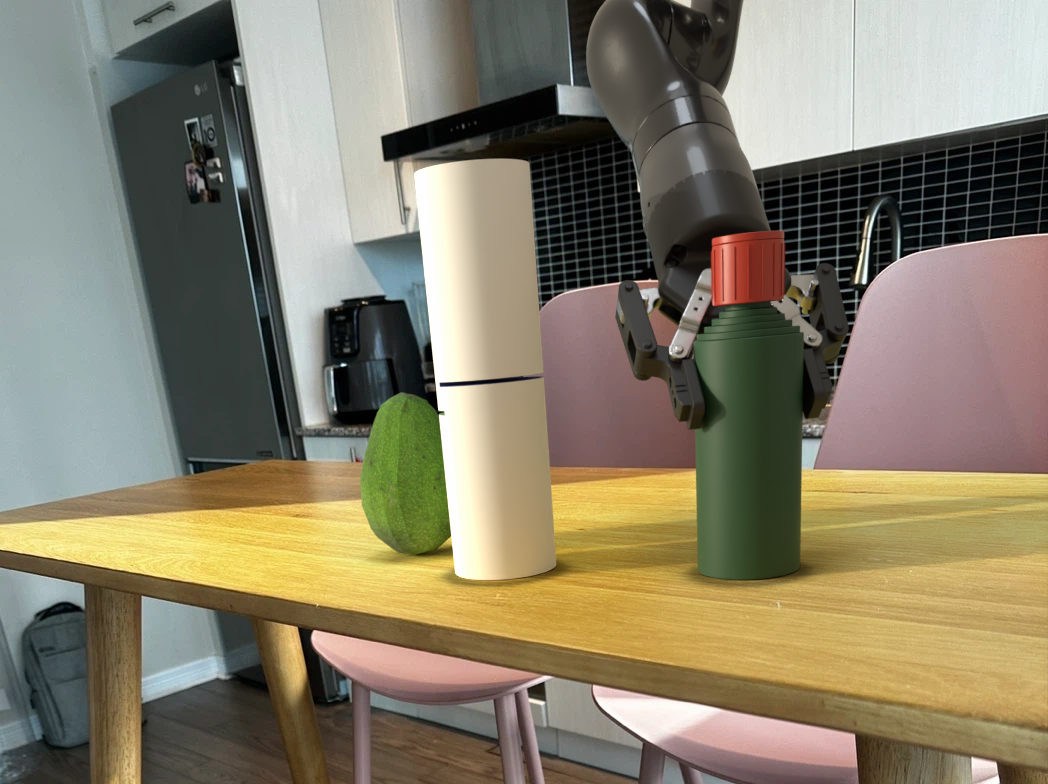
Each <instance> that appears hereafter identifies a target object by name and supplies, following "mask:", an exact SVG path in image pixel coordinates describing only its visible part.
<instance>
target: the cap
mask: <svg viewBox="0 0 1048 784" xmlns="http://www.w3.org/2000/svg"><path fill="white" fill-rule="evenodd" d="M785 268H786V243H785V231H784V230H771V231H761V232H750V233H741V234H734V235H727V236H721V237H716V238H713V239H712V251H711V294H712V302H713V306H725V305H733V304H744V303H755V302H766V301H780V300H783V299H784V295H785Z"/></svg>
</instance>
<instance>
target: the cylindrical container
mask: <svg viewBox="0 0 1048 784" xmlns="http://www.w3.org/2000/svg"><path fill="white" fill-rule="evenodd" d="M530 167H531V166H530V162H529V161H527V160H523V159H519V158H518V159H517V158H481V159H468V160H460V161H452V162H445V163H440V164H435V165H429V166H426V167H423V168H421V169H418V170H416V171H415V172H414V173H413V176H414V186H415V193H416V195H415V196H416V205H417V214H418V223H419V234H420V245H421V254H422V263H423V273H424V283H425V292H426V293H425V294H426V303H427V312H428V320H429V322H428V323H429V331H430V342H431V350H432V351H431V352H432V360H433V361H432V362H433V369H434V379H435V381H434V382H435V389H436V399H437V408H438V412H440V413H439V414H438V416H439V420H440V429H441V439H442V449H443V459H444V468H445V478H446V488H447V498H448V507H449V517H450V527H451V537H450V538H451V545H452V555H453V565H454V573H455V575H456V576H458V577H459V578H463V579H468V580H476V581H503V580H513V579H520V578H521V579H522V578H526V577H527V578H528V577H532V576H536V575H541V574H544V573H547V572H549V571H551V570H553V569H554V568H556V566H557V553H556V552H557V551H556V539H555V538H556V537H555V521H554V507H553V495H552V479H551V478H552V477H551V463H550V462H551V461H550V448H549V447H550V446H549V435H548V432H549V431H548V421H547V420H548V419H547V403H546V388H545V377H544V376H541V375H540V376H539V374H543V373H544V359H543V358H544V357H543V345H542V344H543V343H542V331H541V316H540V315H541V314H540V300H539V299H540V297H539V285H538V284H539V283H538V271H537V270H538V269H537V256H536V239H535V225H534V212H533V211H534V209H533V196H532V195H533V194H532V181H531V168H530ZM531 375H532V376H531ZM533 375H537V376H533Z"/></svg>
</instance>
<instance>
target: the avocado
mask: <svg viewBox="0 0 1048 784" xmlns="http://www.w3.org/2000/svg"><path fill="white" fill-rule="evenodd" d="M363 456H364V457H363V462H362V467H361V472H360V477H359V483H360V484H359V485H360V497H361V500H360V501H361V507H362V510H363V512H364V515H365V517H366V520H367V523H368V525H369V528H370V530H371V531H372V533H373V534H374V535H375V537H376V538H377V539H379V540H380V541H381V542H382V543H384V544H385V545H386V546H388V547H389V548H391V549H392V550H393V551H395V552H397V554H402V555H410V556H414V555H419V554H425V553H430V552H434V551H437V550H438V549H439V548H440V547H441V546H442V545H443V544H444V543H446V542H447V541H448V540H449V539H450V538H452V537H451V527H450V517H449V507H448V498H447V488H446V478H445V468H444V459H443V449H442V439H441V429H440V420H439V414H438V412H437V411H436V409H435V408H434V407H433V406H432V405H431V404H430V403H429V401H428V400H427V399H424V398H422V397H420V396H418V395H416V394H412V393H407V392H402V391H401V392H399V393H397V394H395V395H393V396H391V397H390V398H388V399H387V400H386V401H384V402H383V403H381V405H380V407H379V409H378V411H377V412H376V415H375V417H374V420H373V424H372V427H371V431H370V435H369V438H368V441H367V445H366V448H365V452H364V455H363Z"/></svg>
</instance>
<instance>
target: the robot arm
mask: <svg viewBox="0 0 1048 784" xmlns="http://www.w3.org/2000/svg"><path fill="white" fill-rule="evenodd" d="M744 1H745V0H690V7H689V6H687V5H686V4H683V3H680V2H678V1H677V0H604V2H603V4H602V5H601V6H600V7H599V9H598V10H597V12H596V14H595V16H594V18H593V19H592V22H591V25H590V27H589V31H588V37H587V40H586V41H587V42H586V51H585V55H586V56H585V57H586V58H585V59H586V60H585V61H586V71H587V77H588V81H589V84H590V88H591V91H592V92H593V95H594V97H595V100H596V101H597V104H598V105H599V107H600V109H601V110H602V112H603V114H604V115H605V117H606V119H607V120H608V122H609V123H610V124H611V126H612V128H613V130H614V131H615V132H616V134H617V135H618V137H619V139H620V140H621V142H622V143H623V144H624V145H625V147H626V148H627V149H628V150H629V152H630V153H631V158H632V162H633V167H634V170H635V171H634V172H635V174H636V175H635V176H636V178H637V183H638V188H639V197H640V198H639V199H640V200H639V201H640V211H641V216H642V228H643V231H644V234H645V236H646V238H647V241H648V245H649V249H650V253H651V257H652V262H653V266H654V270H655V274H656V278H657V282H658V285H657V286H655V287H647V288H640V287H639V285H638V283H637V282H636V281H634V280H632V279H630V280H629V279H626V280H623V281H621V282H620V283H619V285H618V290H617V291H618V292H617V301H616V308H615V317H614V318H615V321H616V324H617V328H618V331H619V333H620V337H621V341H622V343H623V346H624V350H625V353H626V355H627V358H628V362H629V365H630V368H631V371H632V375H633V377H634V378H635V379H637V380H638V381H641V382H642V381H643V382H645V381H649V380H650V379H651V378H657V379H661V380H663V382H664V383H665V384H666V386H667V389H668V393H669V394H668V395H669V398H670V402H671V406H672V412H673V416H674V417H675V418H676V420H677V421H678V423H683V422H685V425H686V429H687V430H688V431H692V430H695V429H700V428H701V424H702V420H703V416H704V412H705V402H704V398H703V394H702V390H701V386H700V382H699V378H698V374H697V370H696V366H695V362H694V350H693V343H694V341H697V334H704V327H709V326H712V320H714V319H719V312H726V311H725V306H713V302H712V294H711V251H712V239H713V238H716V237H721V236H727V235H734V234H741V233H750V232H761V231H772V230H771V227H770V223H769V221H768V217H767V214H766V211H765V207H764V204H763V201H762V199H761V194H760V191H759V189H758V186H757V182H756V179H755V175H754V172H753V170H752V167H751V165H750V161H749V160H748V158H747V156H746V154H745V153H744V151H743V149H742V147H741V144H740V141H739V137H738V134H737V132H736V127H735V125H734V124H735V123H734V122H733V119H732V115H731V113H730V110H729V107H728V105H727V102H726V101H725V99H724V97H723V95H724V93H725V91H726V89H727V87H728V84H729V82H730V79H731V75H732V73H733V68H734V62H735V57H736V52H737V46H738V39H739V33H740V25H741V20H742V19H741V18H742V13H743V6H744ZM791 298H792V299H795V300H796V301H797V303H798V304H799V305H798V304H796V302H794V301H793V300H792V299H791ZM799 306H800V307H801V308H802V309H800V307H799ZM771 307H777V314H781V313H785V320H789V319H792V326H800V332H803V333H804V355H803V418H804V419H805V420H811V419H813V420H814V419H818V418H820V416H821V413H822V410H824V409H826V406H827V404H828V401H829V399H830V397H831V394H832V390H833V382H832V380H831V375H830V373H829V370H828V367H827V365H831V364H834V363H836V362H837V360H838V358H839V356H840V351H841V349H842V346H843V343H844V341H845V339H846V337H847V335H848V332H849V330H850V326H849V322H848V318H847V315H846V310H845V305H844V300H843V297H842V293H841V289H840V283H839V281H838V276H837V272H836V267H834V266H833V265H832V264H830V263H827V262H823V263H819V264H818V265H817V266H815V270H814V273H813V274H791V273H790V272H789V270H788V268H786V267H785V295H784V299H783V300H780V301H771ZM656 310H658V312H659V313H660V314H661V315H662V316H664V317H665V318H666V319H667V320H668V321H670V322H671V323H673V324H674V325H676V326H677V330H676V332H675V333H674V336H673V338H672V340H671V342H670V345H669V346H665V345H660V344H658V341H657V338H656V336H655V335H656V334H655V332H654V329H653V326H652V323H651V322H652V319H653V312H655V311H656ZM801 313H802V314H803V315H808V316H809V321H810V323H809V322H808V321H806V319H804V318H803V317H802V315H801Z"/></svg>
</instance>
